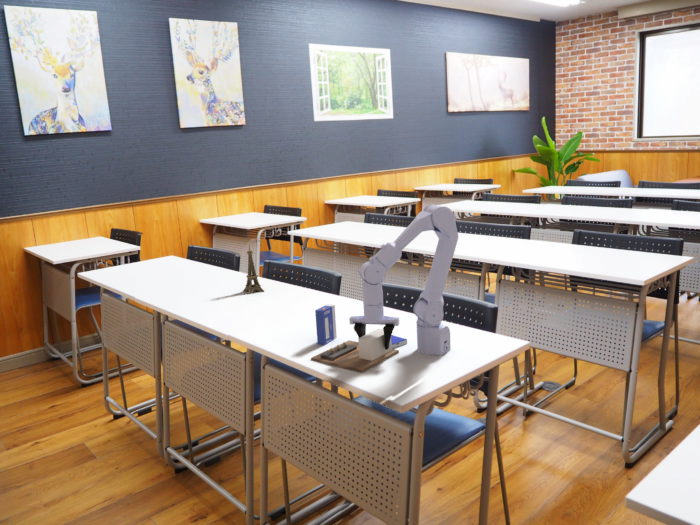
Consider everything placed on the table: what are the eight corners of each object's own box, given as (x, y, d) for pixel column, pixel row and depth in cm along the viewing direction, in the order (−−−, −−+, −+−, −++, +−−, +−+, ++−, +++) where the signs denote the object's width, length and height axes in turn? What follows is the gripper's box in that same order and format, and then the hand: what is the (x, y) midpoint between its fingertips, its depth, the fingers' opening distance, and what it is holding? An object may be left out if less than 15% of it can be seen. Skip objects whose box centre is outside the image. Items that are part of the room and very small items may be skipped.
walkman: (325, 346, 180) (322, 309, 178) (317, 345, 181) (315, 309, 179) (337, 339, 187) (335, 303, 185) (330, 338, 188) (327, 302, 186)
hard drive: (361, 337, 182) (388, 345, 173) (379, 330, 187) (407, 338, 178) (361, 341, 183) (388, 350, 173) (379, 335, 188) (407, 343, 178)
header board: (398, 352, 171) (398, 342, 170) (362, 372, 157) (361, 361, 156) (349, 342, 182) (348, 332, 182) (311, 360, 169) (310, 349, 168)
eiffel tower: (260, 293, 257) (255, 238, 252) (270, 298, 248) (264, 241, 243) (238, 297, 251) (232, 241, 247) (246, 302, 242) (241, 244, 238)
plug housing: (391, 350, 171) (391, 331, 170) (372, 360, 163) (371, 340, 162) (379, 347, 174) (378, 328, 172) (359, 357, 166) (358, 338, 165)
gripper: (400, 300, 167) (402, 344, 169) (353, 299, 171) (356, 342, 174) (395, 306, 160) (397, 352, 163) (346, 305, 165) (349, 350, 167)
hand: (375, 347), depth 168 cm, fingers closed on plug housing, 6 cm apart
